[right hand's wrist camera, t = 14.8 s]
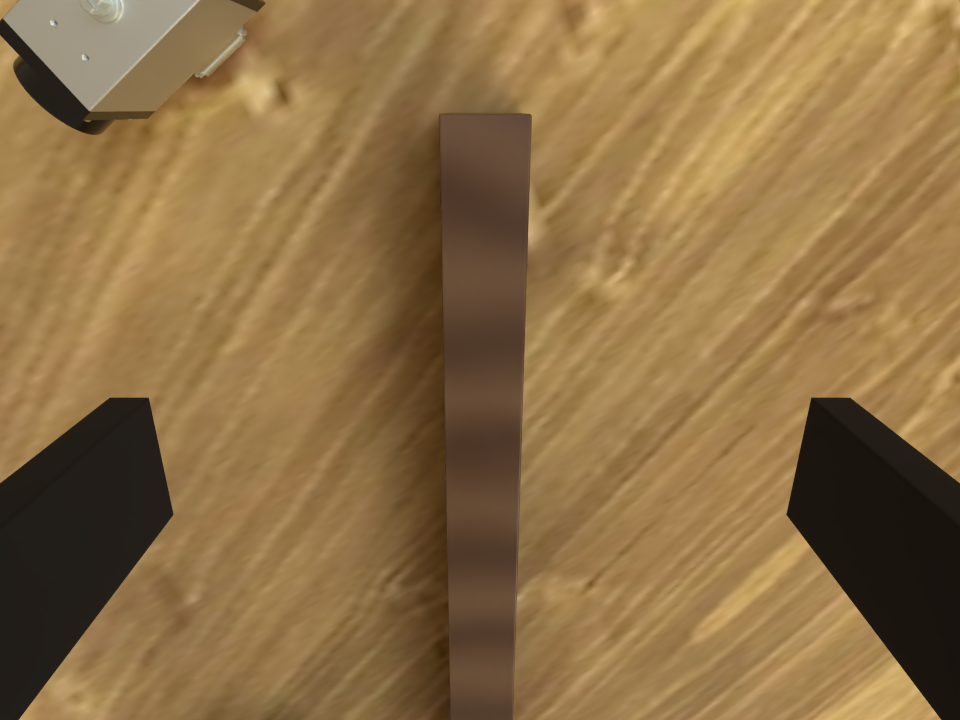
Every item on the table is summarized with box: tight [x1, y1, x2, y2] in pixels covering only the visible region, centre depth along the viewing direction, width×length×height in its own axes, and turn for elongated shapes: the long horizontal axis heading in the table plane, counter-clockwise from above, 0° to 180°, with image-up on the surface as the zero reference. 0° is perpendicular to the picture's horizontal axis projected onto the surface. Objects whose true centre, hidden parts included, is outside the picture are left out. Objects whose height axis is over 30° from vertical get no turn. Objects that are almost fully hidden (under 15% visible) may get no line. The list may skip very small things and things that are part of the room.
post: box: [439, 113, 532, 720], centre depth 45 cm, size 54×5×7 cm, turn 0°
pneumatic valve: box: [0, 0, 265, 135], centre depth 31 cm, size 6×12×12 cm, turn 128°
